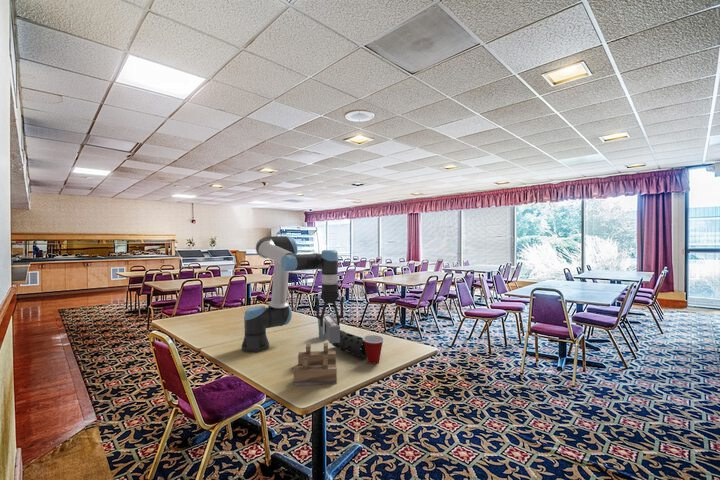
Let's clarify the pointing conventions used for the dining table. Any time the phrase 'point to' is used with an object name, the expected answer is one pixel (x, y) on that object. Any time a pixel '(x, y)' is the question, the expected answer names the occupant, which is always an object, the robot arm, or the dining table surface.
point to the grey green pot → (321, 331)
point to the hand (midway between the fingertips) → (329, 333)
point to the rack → (316, 367)
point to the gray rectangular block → (331, 330)
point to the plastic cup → (373, 347)
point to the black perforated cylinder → (351, 344)
